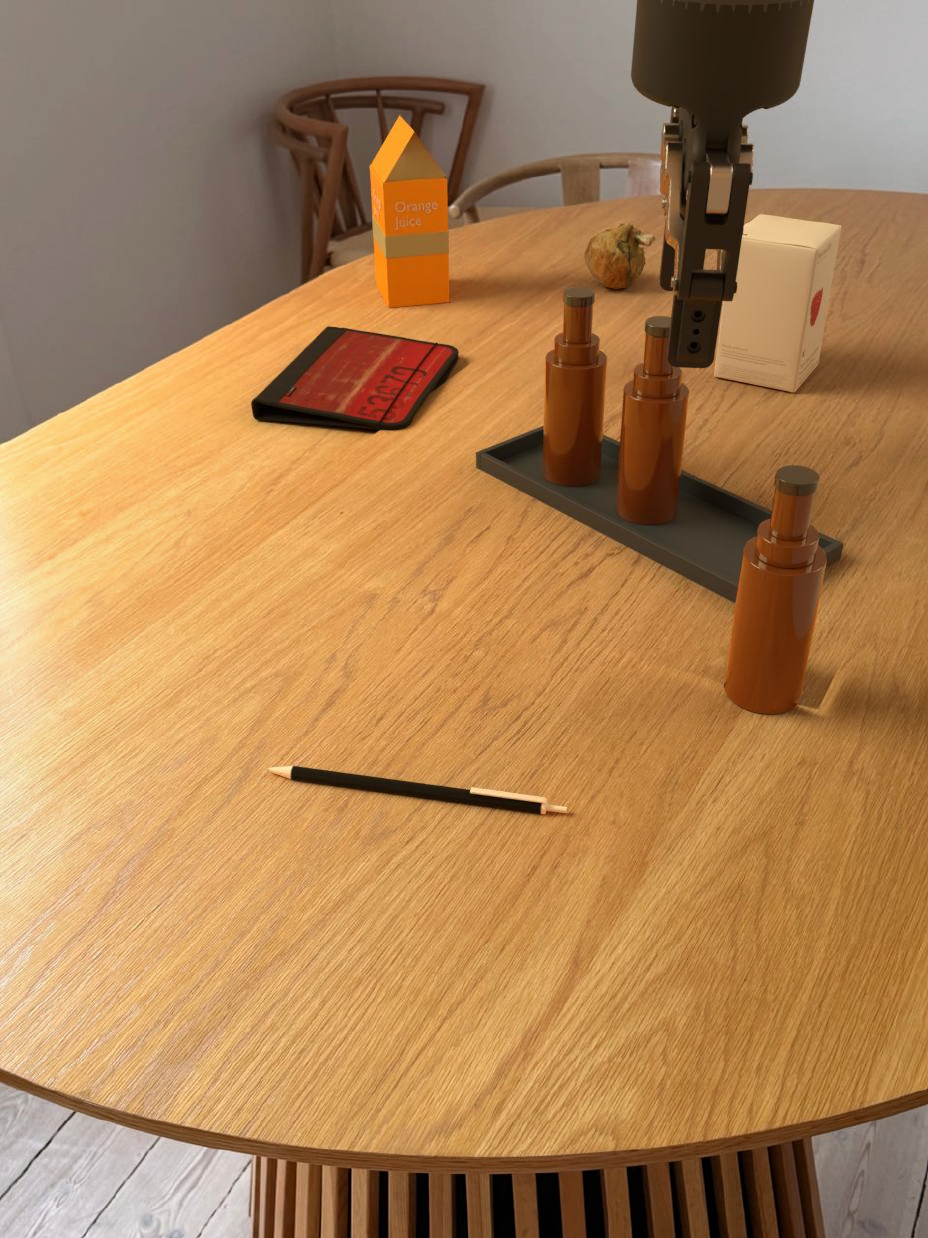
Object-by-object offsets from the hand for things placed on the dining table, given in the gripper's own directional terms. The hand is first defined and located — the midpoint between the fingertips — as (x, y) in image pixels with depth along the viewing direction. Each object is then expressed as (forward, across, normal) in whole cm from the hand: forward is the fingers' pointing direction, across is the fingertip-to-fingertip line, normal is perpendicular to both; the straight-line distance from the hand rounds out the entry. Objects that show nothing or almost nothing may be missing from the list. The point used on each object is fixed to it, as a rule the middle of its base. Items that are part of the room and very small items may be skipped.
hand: (683, 324), depth 62 cm
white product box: (+35, +59, -16) cm, 71 cm away
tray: (+31, +28, -2) cm, 42 cm away
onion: (+38, +86, -1) cm, 94 cm away
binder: (+35, +53, +26) cm, 68 cm away
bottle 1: (+32, +34, +4) cm, 46 cm away
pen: (+28, -8, +14) cm, 33 cm away
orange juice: (+38, +82, +24) cm, 93 cm away
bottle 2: (+31, +28, -2) cm, 41 cm away
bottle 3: (+29, +4, -9) cm, 30 cm away
